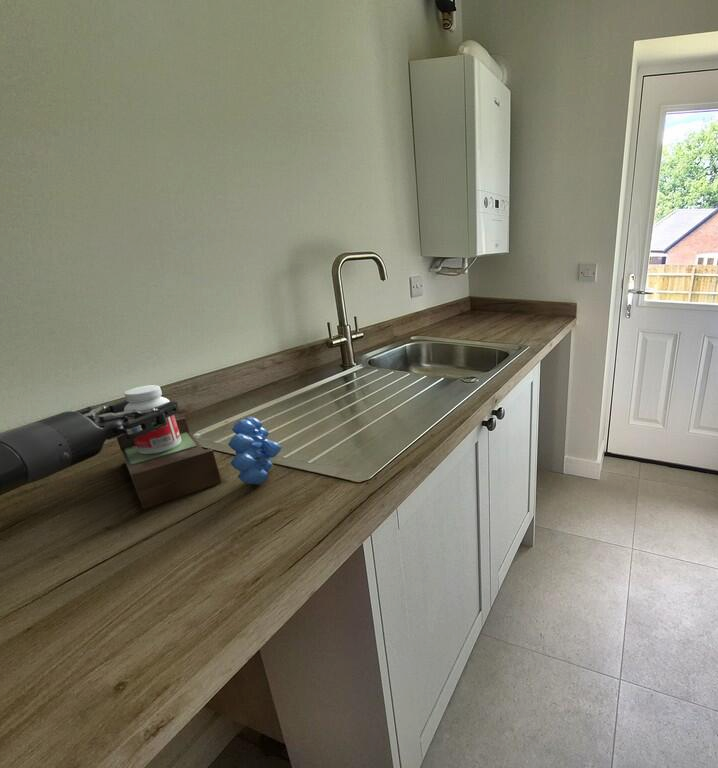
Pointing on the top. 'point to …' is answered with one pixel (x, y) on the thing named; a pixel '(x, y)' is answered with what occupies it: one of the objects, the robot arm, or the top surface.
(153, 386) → the pill bottle
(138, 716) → the top surface
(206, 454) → the brown two-tone box
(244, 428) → the grapes
